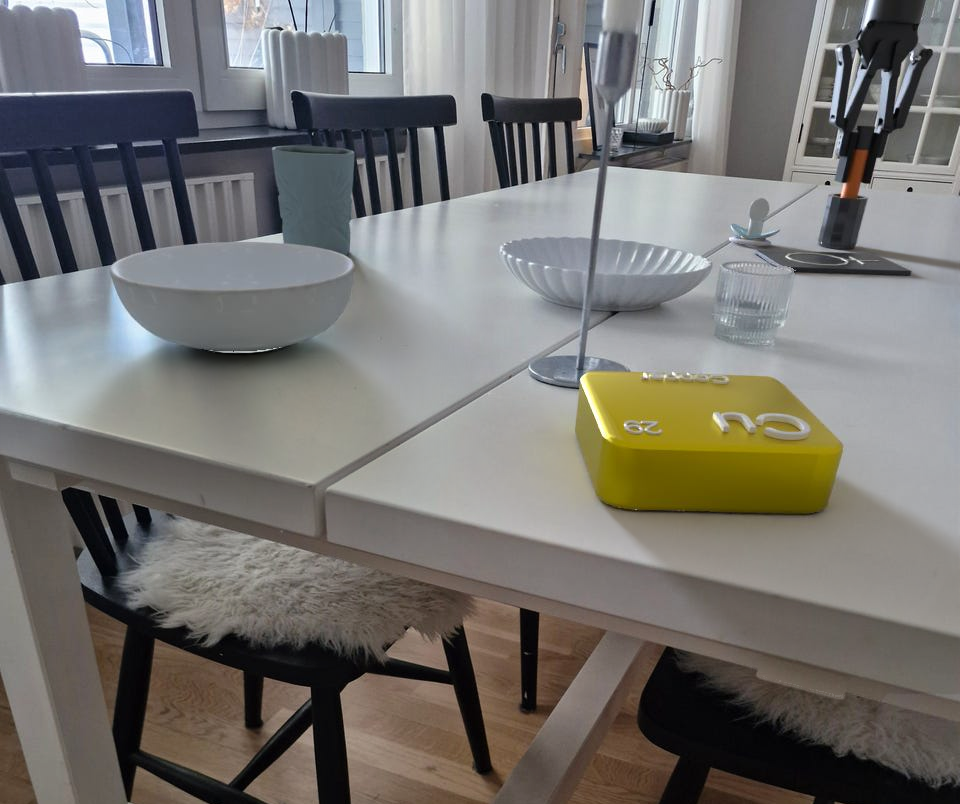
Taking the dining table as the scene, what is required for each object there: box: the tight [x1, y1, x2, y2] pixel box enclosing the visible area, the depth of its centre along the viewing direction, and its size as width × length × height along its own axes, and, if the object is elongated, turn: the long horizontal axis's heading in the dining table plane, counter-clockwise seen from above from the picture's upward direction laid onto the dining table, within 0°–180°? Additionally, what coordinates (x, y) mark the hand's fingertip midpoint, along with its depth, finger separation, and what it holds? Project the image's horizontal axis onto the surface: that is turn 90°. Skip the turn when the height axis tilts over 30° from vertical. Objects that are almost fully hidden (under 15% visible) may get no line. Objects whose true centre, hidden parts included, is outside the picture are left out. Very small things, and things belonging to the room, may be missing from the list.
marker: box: [840, 124, 876, 198], centre depth 133 cm, size 3×3×13 cm
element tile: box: [574, 370, 844, 515], centre depth 60 cm, size 15×15×5 cm
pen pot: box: [817, 192, 869, 250], centre depth 137 cm, size 6×6×7 cm
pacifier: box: [728, 197, 781, 247], centre depth 135 cm, size 7×6×6 cm
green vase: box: [271, 145, 356, 256], centre depth 115 cm, size 10×10×12 cm
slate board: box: [754, 249, 913, 276], centre depth 126 cm, size 18×12×1 cm, turn 93°
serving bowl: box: [109, 241, 356, 352], centre depth 81 cm, size 21×21×7 cm
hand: (852, 181), depth 134 cm, fingers open, 3 cm apart
